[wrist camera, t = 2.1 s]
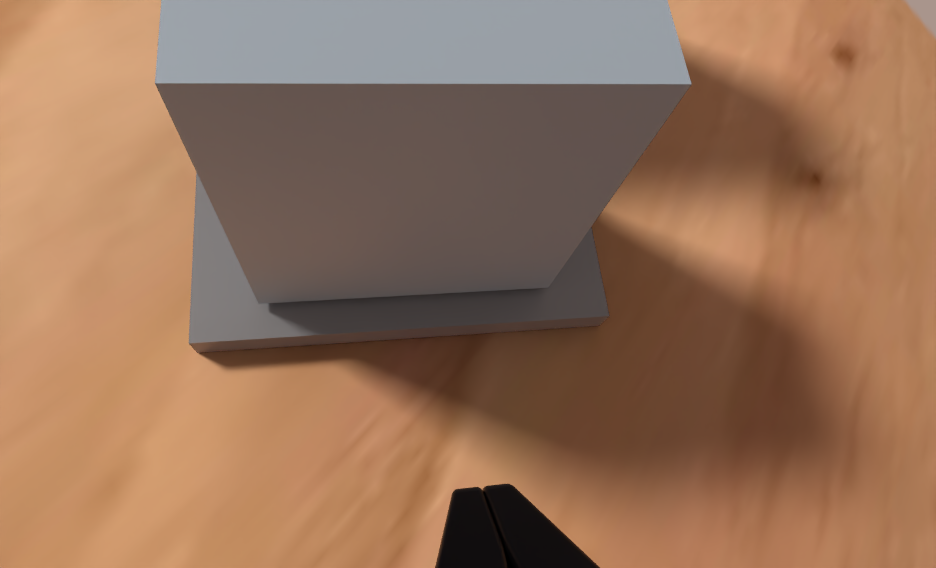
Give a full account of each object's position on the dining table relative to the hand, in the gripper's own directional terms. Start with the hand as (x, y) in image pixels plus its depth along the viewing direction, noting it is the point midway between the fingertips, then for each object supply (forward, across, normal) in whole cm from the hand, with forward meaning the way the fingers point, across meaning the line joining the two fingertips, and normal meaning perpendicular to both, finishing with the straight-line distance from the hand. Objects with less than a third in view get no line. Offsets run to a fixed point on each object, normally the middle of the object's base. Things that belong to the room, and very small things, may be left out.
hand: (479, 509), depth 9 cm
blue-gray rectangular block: (+13, 0, 0) cm, 13 cm away
